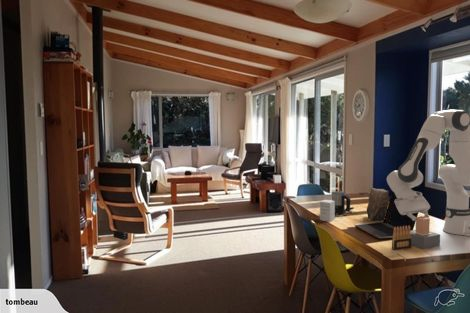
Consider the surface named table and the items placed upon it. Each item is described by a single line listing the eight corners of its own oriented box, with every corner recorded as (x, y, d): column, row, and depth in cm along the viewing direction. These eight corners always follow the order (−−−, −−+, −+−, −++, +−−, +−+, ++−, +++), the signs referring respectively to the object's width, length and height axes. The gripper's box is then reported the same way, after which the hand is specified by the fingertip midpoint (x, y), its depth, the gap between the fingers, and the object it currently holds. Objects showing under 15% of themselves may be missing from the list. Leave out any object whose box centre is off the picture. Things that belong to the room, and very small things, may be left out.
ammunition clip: (394, 250, 200) (394, 227, 199) (391, 249, 201) (392, 226, 200) (411, 247, 203) (412, 225, 202) (408, 246, 205) (409, 224, 203)
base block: (420, 239, 216) (420, 228, 216) (439, 245, 206) (440, 234, 205) (404, 242, 211) (404, 231, 211) (423, 249, 201) (424, 237, 200)
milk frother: (329, 213, 277) (329, 192, 276) (335, 209, 291) (335, 189, 289) (350, 215, 270) (350, 194, 269) (355, 211, 284) (355, 190, 282)
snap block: (421, 231, 211) (422, 215, 210) (429, 233, 207) (429, 217, 206) (415, 232, 209) (416, 216, 208) (422, 234, 205) (423, 218, 204)
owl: (366, 216, 268) (366, 187, 266) (385, 216, 266) (386, 187, 264) (369, 221, 255) (370, 190, 253) (390, 221, 253) (391, 191, 251)
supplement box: (324, 217, 265) (324, 199, 264) (334, 219, 261) (335, 200, 260) (319, 220, 260) (319, 201, 259) (329, 221, 255) (330, 202, 254)
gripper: (396, 196, 209) (411, 218, 201) (423, 192, 218) (438, 213, 210) (389, 202, 214) (403, 224, 206) (416, 198, 222) (430, 219, 214)
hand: (421, 219), depth 208 cm, fingers open, 8 cm apart
